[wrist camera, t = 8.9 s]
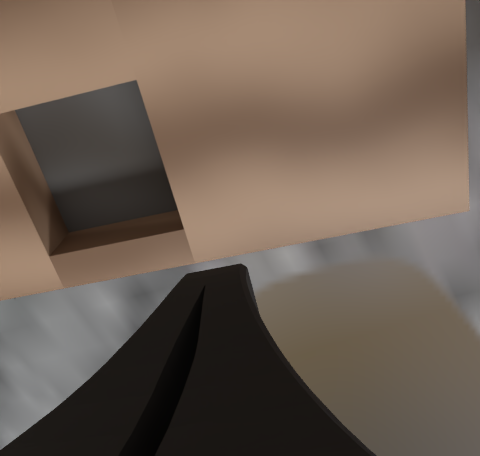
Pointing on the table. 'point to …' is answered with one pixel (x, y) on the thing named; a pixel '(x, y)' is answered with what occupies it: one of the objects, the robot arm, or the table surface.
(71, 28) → the deck
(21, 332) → the table surface
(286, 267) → the table surface
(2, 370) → the table surface
